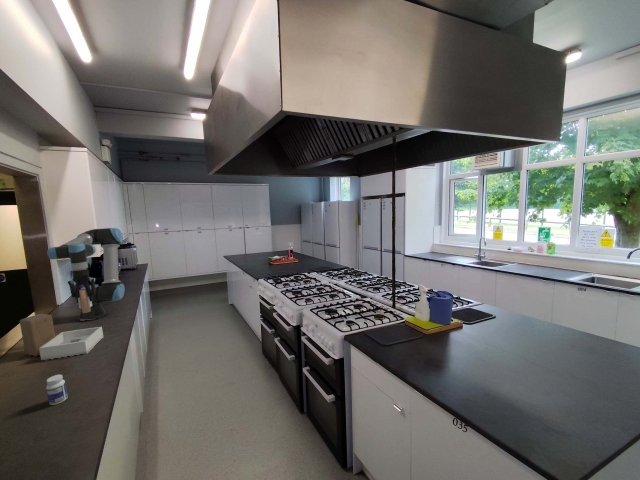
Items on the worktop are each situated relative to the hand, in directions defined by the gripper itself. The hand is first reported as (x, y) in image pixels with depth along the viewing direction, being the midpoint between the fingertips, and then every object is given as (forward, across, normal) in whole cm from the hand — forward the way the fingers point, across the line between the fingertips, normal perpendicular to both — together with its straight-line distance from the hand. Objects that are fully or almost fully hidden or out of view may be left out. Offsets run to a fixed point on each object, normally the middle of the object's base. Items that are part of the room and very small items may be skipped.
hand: (85, 307), depth 174 cm
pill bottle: (+19, +17, -68) cm, 72 cm away
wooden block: (+19, -18, -13) cm, 29 cm away
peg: (+3, 0, 0) cm, 3 cm away
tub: (+19, -1, -16) cm, 24 cm away
